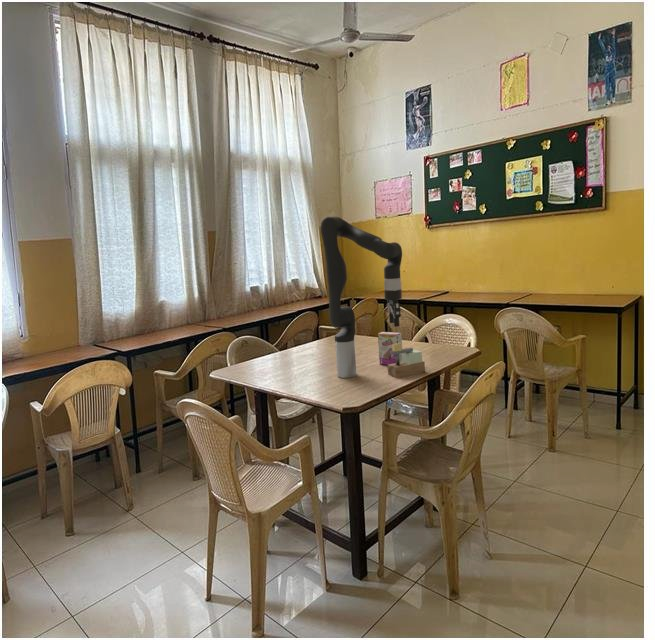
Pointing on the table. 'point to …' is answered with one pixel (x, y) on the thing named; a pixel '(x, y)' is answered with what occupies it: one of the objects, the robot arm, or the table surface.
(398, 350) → the key
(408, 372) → the case
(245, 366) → the table surface
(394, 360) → the candy bar box
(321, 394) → the table surface
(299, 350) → the table surface
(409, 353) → the pale green block
